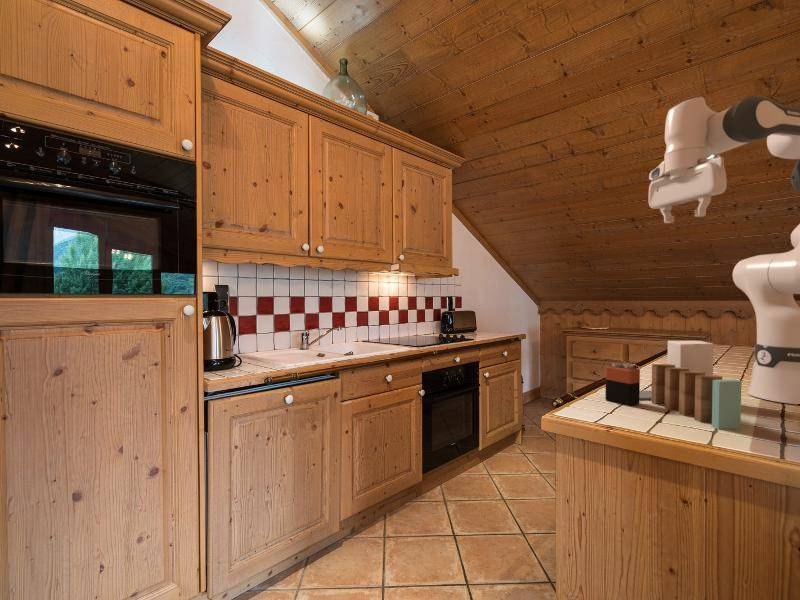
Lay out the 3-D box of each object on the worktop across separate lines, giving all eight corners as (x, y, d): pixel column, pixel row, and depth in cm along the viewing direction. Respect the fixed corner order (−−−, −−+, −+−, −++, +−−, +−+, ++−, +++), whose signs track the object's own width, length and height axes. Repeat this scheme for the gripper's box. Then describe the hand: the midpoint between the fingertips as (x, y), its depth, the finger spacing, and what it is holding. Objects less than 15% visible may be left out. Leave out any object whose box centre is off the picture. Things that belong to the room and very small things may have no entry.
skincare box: (698, 397, 108) (699, 340, 108) (714, 404, 102) (716, 343, 101) (665, 396, 109) (666, 339, 109) (679, 403, 103) (680, 342, 102)
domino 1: (669, 402, 104) (670, 363, 103) (674, 404, 102) (675, 365, 102) (651, 403, 103) (652, 364, 103) (655, 404, 102) (656, 365, 101)
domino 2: (683, 407, 99) (684, 367, 99) (688, 409, 98) (689, 368, 97) (664, 408, 99) (665, 367, 99) (669, 410, 97) (670, 368, 97)
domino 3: (698, 413, 95) (699, 371, 94) (704, 415, 93) (705, 372, 93) (678, 413, 94) (679, 371, 94) (684, 415, 93) (685, 372, 92)
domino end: (733, 426, 86) (734, 379, 86) (740, 428, 84) (741, 381, 84) (711, 426, 85) (712, 379, 85) (718, 429, 84) (719, 381, 84)
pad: (650, 392, 114) (650, 390, 114) (668, 399, 107) (668, 397, 107) (620, 393, 113) (620, 391, 113) (636, 400, 106) (637, 397, 106)
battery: (630, 406, 100) (631, 366, 100) (604, 400, 106) (605, 362, 105) (640, 404, 102) (640, 365, 102) (614, 398, 108) (614, 361, 108)
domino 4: (715, 419, 90) (716, 375, 90) (721, 421, 89) (722, 376, 88) (694, 419, 90) (695, 375, 90) (700, 422, 88) (701, 376, 88)
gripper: (735, 152, 92) (733, 212, 93) (664, 176, 113) (663, 226, 113) (711, 150, 92) (709, 211, 92) (644, 175, 112) (643, 225, 112)
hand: (683, 219), depth 103 cm, fingers open, 8 cm apart
